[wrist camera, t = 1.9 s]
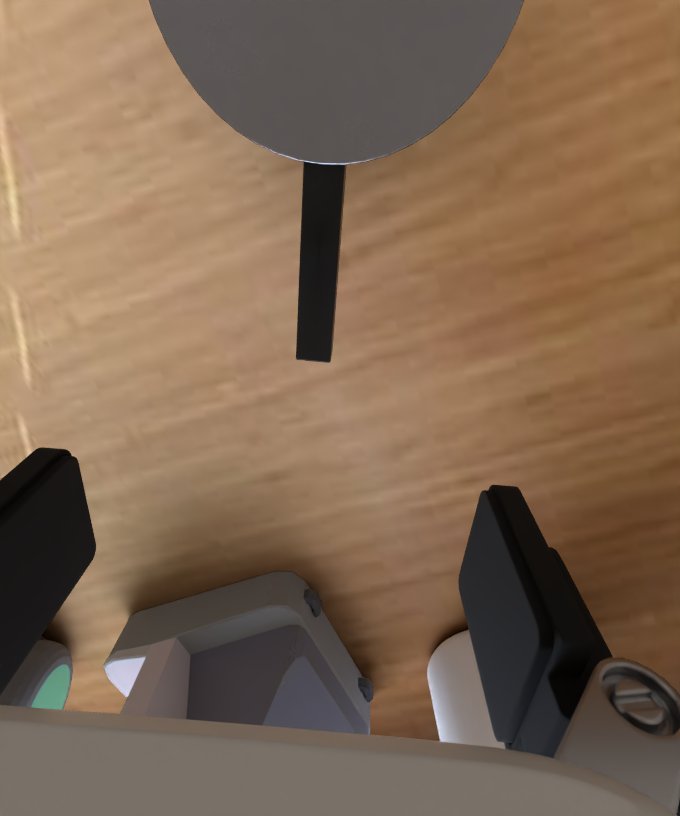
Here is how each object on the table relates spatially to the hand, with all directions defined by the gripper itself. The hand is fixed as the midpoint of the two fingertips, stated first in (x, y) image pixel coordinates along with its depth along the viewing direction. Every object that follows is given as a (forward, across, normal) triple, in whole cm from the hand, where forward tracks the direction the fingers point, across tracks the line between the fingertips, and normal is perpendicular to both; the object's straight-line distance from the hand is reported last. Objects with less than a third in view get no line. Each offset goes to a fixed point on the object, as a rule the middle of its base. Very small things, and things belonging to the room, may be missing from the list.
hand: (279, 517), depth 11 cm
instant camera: (+20, +5, +35) cm, 41 cm away
